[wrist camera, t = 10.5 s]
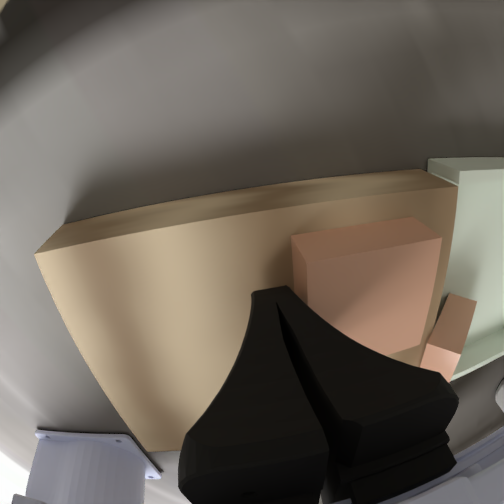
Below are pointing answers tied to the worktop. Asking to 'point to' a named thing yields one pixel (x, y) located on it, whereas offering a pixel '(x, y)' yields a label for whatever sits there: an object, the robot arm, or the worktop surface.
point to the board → (209, 283)
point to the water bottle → (500, 395)
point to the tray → (476, 253)
